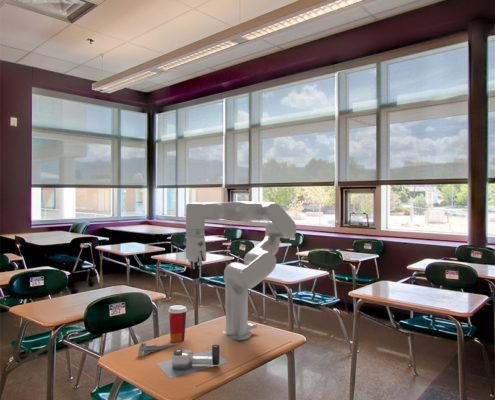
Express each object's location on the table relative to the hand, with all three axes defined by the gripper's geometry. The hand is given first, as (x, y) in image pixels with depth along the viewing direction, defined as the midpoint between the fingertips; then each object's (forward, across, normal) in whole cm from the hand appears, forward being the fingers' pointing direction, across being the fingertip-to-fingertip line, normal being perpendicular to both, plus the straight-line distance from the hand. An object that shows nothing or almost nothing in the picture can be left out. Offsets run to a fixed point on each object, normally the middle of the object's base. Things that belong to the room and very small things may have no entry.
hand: (194, 278), depth 152 cm
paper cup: (+27, +8, +4) cm, 29 cm away
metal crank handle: (+25, -21, +9) cm, 34 cm away
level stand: (+27, -18, +9) cm, 33 cm away
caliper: (+28, 0, +13) cm, 31 cm away
